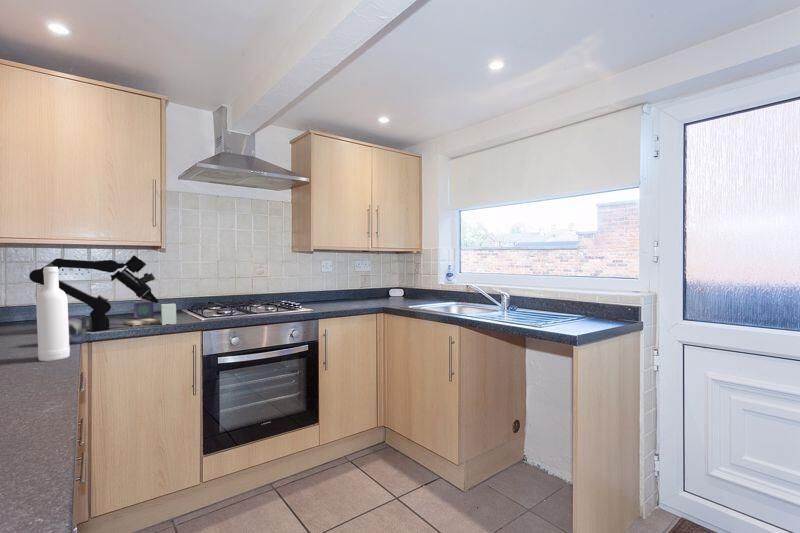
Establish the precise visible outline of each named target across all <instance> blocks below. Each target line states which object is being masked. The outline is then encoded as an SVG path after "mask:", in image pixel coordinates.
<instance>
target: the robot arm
mask: <svg viewBox="0 0 800 533" xmlns="http://www.w3.org/2000/svg"><path fill="white" fill-rule="evenodd" d="M147 265H148V264H147V263H145V262H144V261H143V260H142V259H140V258H139V257H137V256H136V255H134V254H133V255H132V256H131V257H130V259H128V260H127V261H126V262H125V263H124V262H122V263H121V262H117V261H116V260H113V259H107V260H106V259H105V260H96V261H95V260H82V259H81V260H80V259H66V258H65V259H64V258H60V257H59V258H54V259H53V260H52V261H51V262H49V263H47V264H46V265H44V266H43V267H41V268H38V269H33V270H32V271H31V272H29V280H30V281H31V282H32V283H35V284H38V285H42V286H44V273H43V270H44V267H58V270H60V269H62V268H68V269H69V268H70V269H88V270H95V271H101V272H105V273H114V274H110V278H111V279H110V281H111V282H113V281H114V280H115V279H116V280H117V281H119V282H120V283H121V284H122V285H124V286H125V287H126V288H128V289H129V290H130V291H132V292H133V293H134V294H135V296H136V297H138V299H141V300H142V299H144V300H146V301H151V302H153V304H154V303H155V304H158V303H159V301H160V300H158V298H157V297H156V296H155V294H153V293H152V288H151V287H150V286H149V285H148V284H147V283H149V282H151V281H155V280H156V277H155V276H154V274H153V272H151V273H148V272H146V273H143V276H142V277H140V278H139V277H138V276H135V275H134V274H135V273H137V274H138V273H140V271H142V269H143V268H145V267H146V266H147ZM124 267H125V268H124ZM123 268H124V269H123ZM118 269H119V270H118ZM120 269H122V270H121V271H120ZM127 269H128V270H127ZM59 288H60V289H61V290H63V291H64V292H65V294H66V296H70V297H71V298H74V299H76V300H78V301H80V302H82V303H84V304H86V305H87V306H88V307H90V308H91V309H93V310H91V311H90V313H89V317H88V323H89V324H88V325H89V326H88V327H89V328H88V329H87V330H88V331H89V330H90V331H89V332H99V331H98V330H101V331H106V330H107V329H108V330H110V329H111V328H110V318H109V317H108V316H109V315H106V314H107V313H108V312H110V311H111V309H112V303H111V302H110V301H109V298H105V297H104V296H102V295H100V294H99V295H98V296H97V297H96V296H93V295H91V294H89V293H88V292H85V291H83V290H80V289H78V288H77V287H74V286H72V285H70V284H69V283H66V282H64V281H62V280H60V279H59Z"/></svg>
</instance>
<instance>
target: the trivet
mask: <svg viewBox="0 0 800 533" xmlns="http://www.w3.org/2000/svg"><path fill="white" fill-rule="evenodd" d="M158 322H160V323H161V320H159V319H154V318H143V319H134V320H127V321H122V325H124V324H127V325H126V326H129V325H133V326H132V327H135V326H134V325H140V326H143V325H142V324H147V325H151V324H150V323H155V324H159V323H158Z"/></svg>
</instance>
